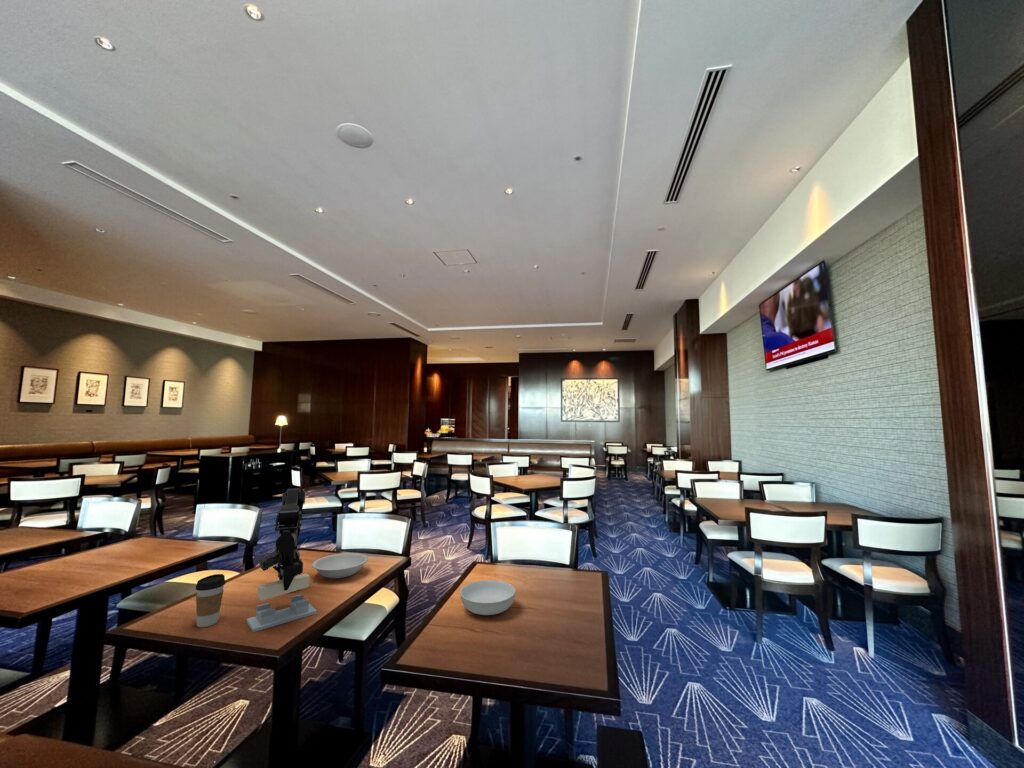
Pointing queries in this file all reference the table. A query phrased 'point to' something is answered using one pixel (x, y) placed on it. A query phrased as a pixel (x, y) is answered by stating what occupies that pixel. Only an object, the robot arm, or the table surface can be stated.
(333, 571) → the soup bowl
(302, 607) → the rack
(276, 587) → the strip
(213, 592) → the coffee cup
